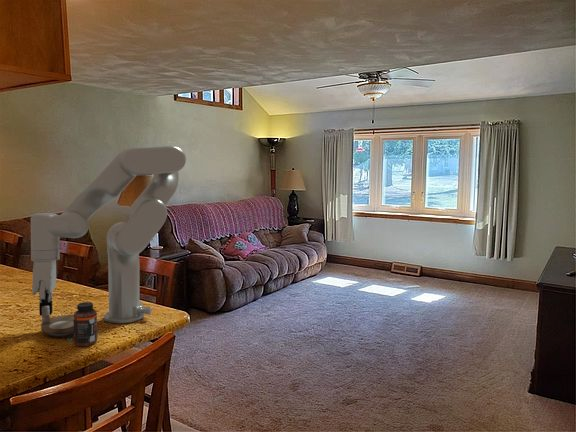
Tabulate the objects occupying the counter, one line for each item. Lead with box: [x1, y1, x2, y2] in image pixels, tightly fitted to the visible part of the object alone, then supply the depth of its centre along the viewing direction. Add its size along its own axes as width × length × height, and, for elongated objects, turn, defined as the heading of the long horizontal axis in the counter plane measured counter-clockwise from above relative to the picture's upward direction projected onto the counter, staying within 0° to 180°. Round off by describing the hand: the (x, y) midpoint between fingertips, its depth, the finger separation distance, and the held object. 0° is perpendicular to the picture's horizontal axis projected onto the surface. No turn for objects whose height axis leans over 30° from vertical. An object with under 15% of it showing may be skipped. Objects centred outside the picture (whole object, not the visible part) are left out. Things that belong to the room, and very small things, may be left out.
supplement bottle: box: [73, 301, 98, 347], centre depth 124 cm, size 6×6×11 cm
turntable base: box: [46, 333, 74, 343], centre depth 131 cm, size 10×13×1 cm
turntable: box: [40, 306, 74, 334], centre depth 132 cm, size 13×13×6 cm
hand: (46, 314), depth 133 cm, fingers closed
